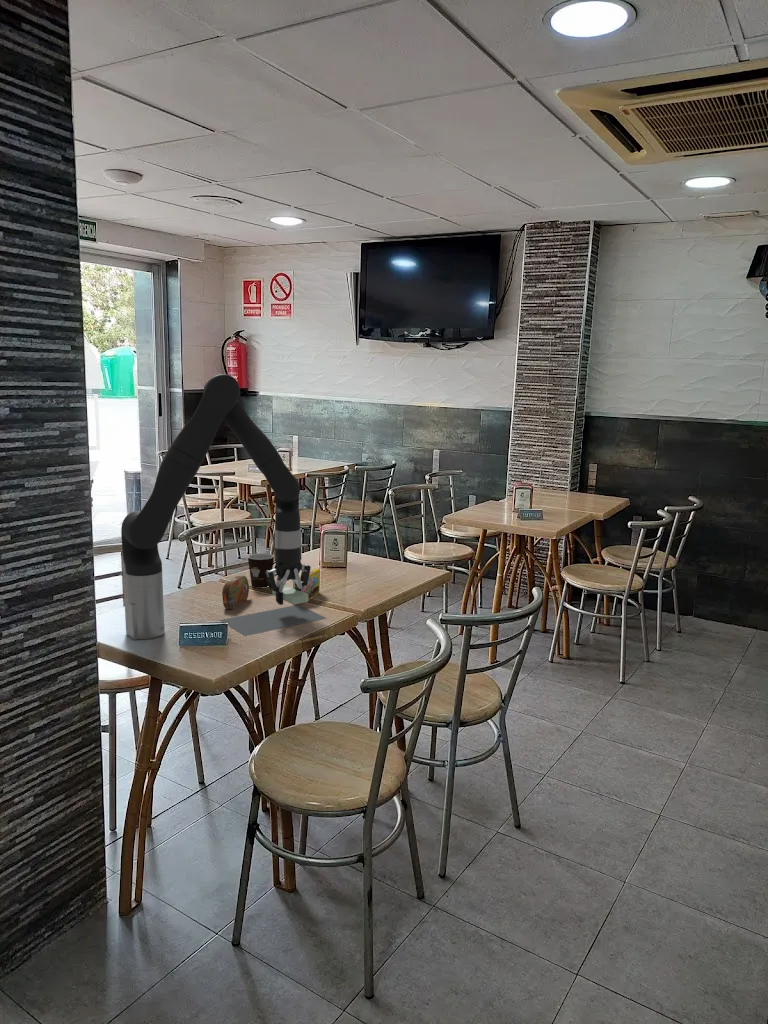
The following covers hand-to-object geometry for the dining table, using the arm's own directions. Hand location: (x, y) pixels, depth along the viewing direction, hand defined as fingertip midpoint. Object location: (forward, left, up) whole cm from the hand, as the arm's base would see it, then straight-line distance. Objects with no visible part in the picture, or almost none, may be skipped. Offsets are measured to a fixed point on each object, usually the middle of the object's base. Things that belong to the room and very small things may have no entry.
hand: (288, 602), depth 211 cm
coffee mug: (+10, +34, -5) cm, 36 cm away
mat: (-5, 0, -5) cm, 7 cm away
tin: (-7, +20, -5) cm, 22 cm away
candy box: (+14, +13, -5) cm, 20 cm away
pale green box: (0, -7, +2) cm, 7 cm away
